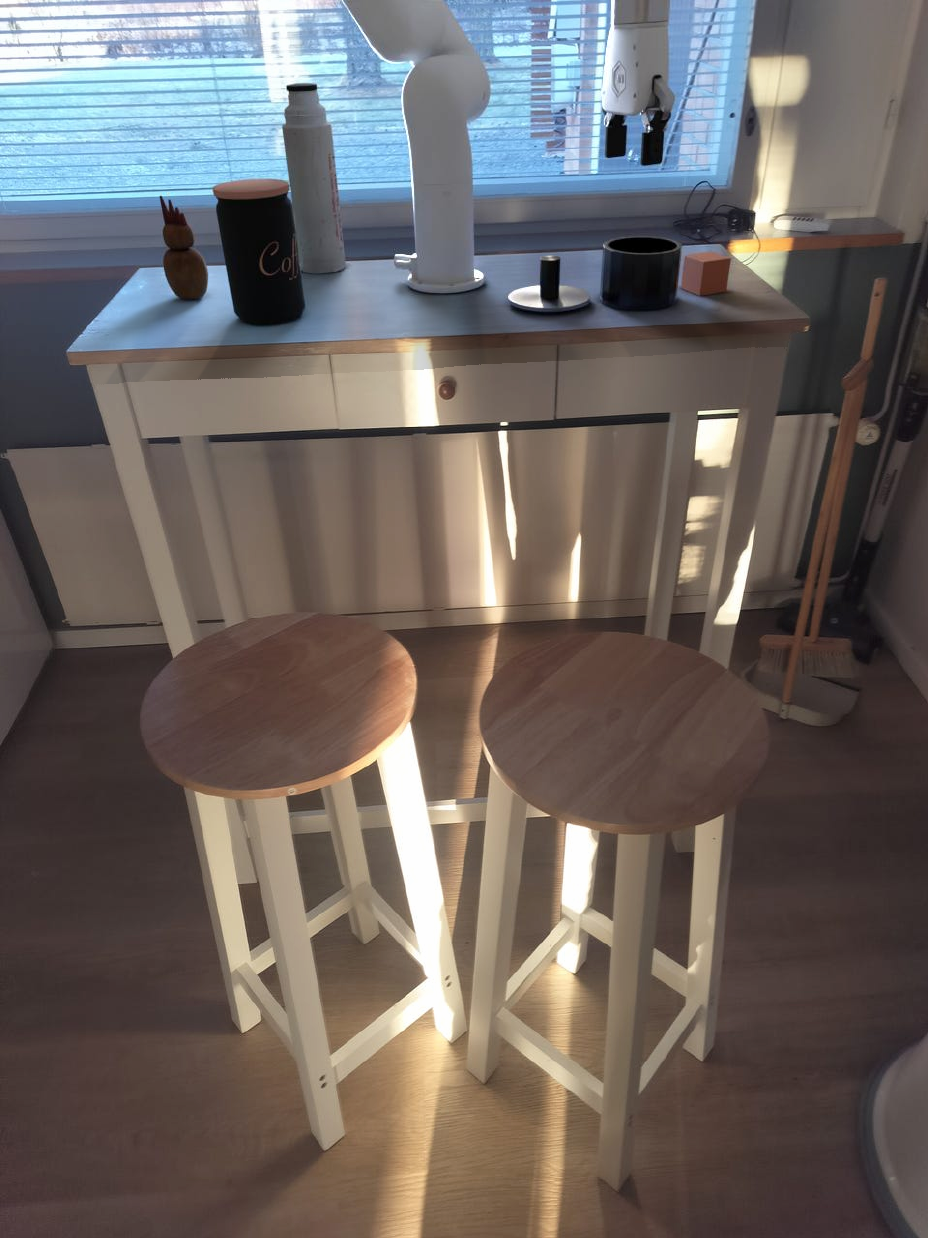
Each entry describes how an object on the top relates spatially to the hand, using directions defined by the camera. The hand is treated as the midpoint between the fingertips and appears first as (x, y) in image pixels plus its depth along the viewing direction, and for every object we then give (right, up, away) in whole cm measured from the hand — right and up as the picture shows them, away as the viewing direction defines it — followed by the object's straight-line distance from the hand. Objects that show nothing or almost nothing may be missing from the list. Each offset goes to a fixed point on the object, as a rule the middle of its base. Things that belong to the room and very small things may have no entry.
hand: (632, 160), depth 124 cm
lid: (-11, -17, +9) cm, 22 cm away
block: (+14, -13, +14) cm, 23 cm away
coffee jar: (-53, -19, +8) cm, 57 cm away
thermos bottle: (-49, -3, +31) cm, 58 cm away
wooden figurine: (-68, -13, +18) cm, 72 cm away
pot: (+3, -16, +10) cm, 19 cm away
